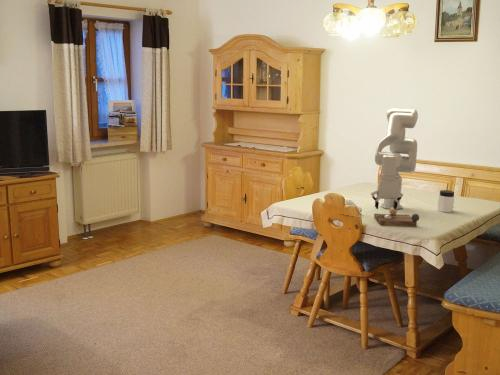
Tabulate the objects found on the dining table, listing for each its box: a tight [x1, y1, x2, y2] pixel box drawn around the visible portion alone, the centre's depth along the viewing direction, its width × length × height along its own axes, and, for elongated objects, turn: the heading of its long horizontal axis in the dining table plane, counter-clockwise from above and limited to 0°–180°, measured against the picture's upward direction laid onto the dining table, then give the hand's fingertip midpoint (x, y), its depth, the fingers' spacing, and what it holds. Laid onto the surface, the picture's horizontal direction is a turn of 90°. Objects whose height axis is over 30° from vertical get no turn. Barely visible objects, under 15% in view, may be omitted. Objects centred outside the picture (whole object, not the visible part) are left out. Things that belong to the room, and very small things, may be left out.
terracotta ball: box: [389, 208, 398, 215], centre depth 312 cm, size 4×4×4 cm
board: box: [373, 213, 418, 228], centre depth 306 cm, size 16×19×2 cm
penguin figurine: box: [344, 197, 363, 213], centre depth 322 cm, size 6×8×12 cm
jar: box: [437, 189, 455, 213], centre depth 337 cm, size 9×8×12 cm
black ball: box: [411, 213, 420, 222], centre depth 299 cm, size 4×4×4 cm
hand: (385, 208), depth 305 cm, fingers open, 9 cm apart
